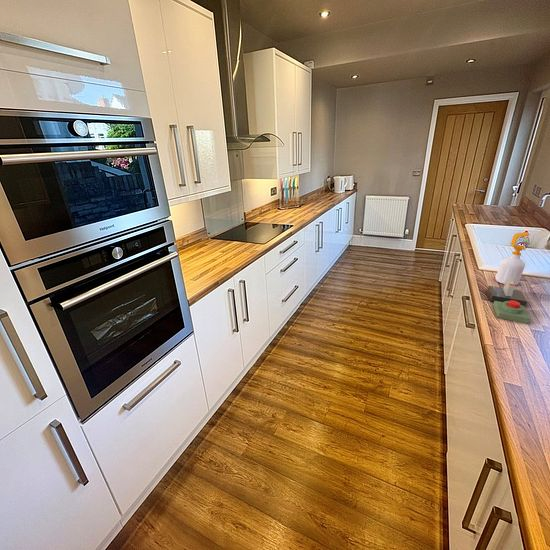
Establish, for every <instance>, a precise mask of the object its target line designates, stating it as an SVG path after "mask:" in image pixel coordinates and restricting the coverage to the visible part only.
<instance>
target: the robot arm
mask: <svg viewBox="0 0 550 550" xmlns="http://www.w3.org/2000/svg"><path fill="white" fill-rule="evenodd" d="M545 243H546V244H545V245H544V247H543V248H544V249H545V250H547V251H550V232H549V233H548V235H547V238H546V242H545Z"/></svg>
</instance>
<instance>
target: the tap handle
mask: <svg viewBox="0 0 550 550" xmlns="http://www.w3.org/2000/svg"><path fill="white" fill-rule="evenodd" d="M503 285H504V286H503V287H502V288H503V291H504V293H505V295H506V296H512V294H513V291H514V290H516V289H515V288H516V285H515V284H514V282H513V281H512V280H508V279H507V280H506V283H505V284H503Z"/></svg>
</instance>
